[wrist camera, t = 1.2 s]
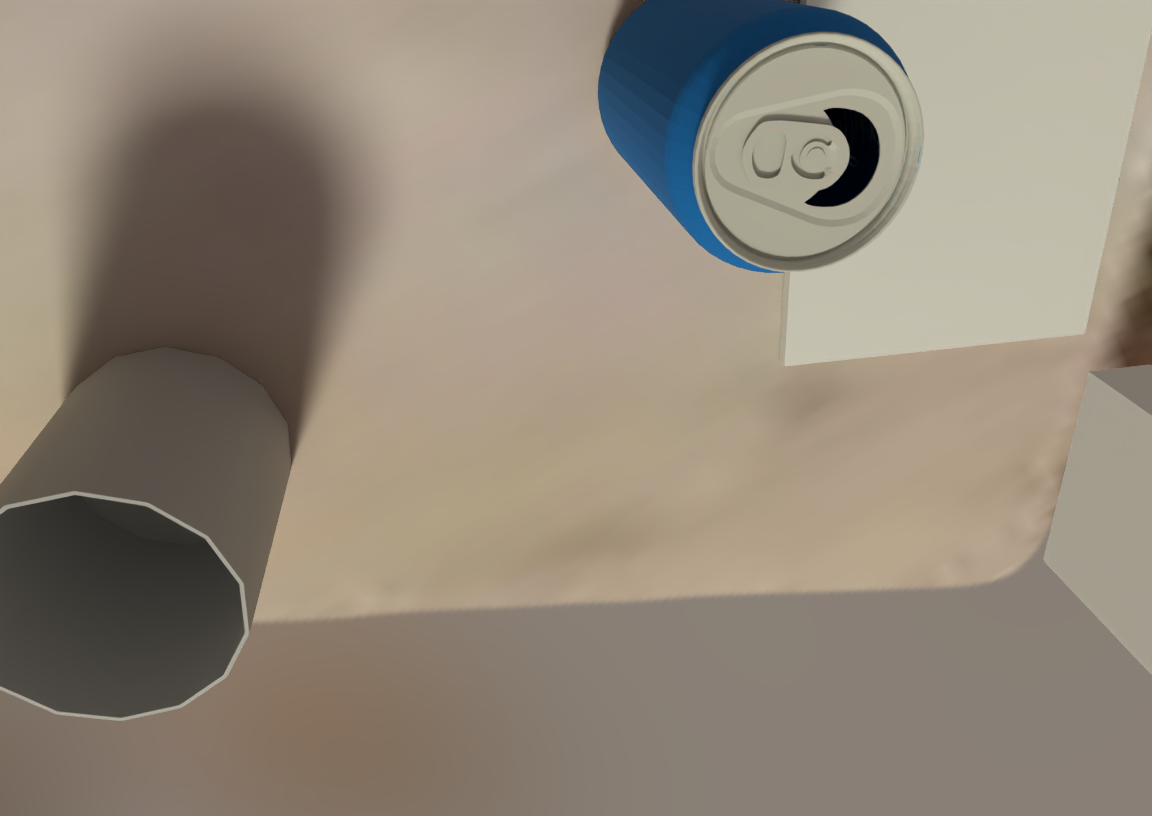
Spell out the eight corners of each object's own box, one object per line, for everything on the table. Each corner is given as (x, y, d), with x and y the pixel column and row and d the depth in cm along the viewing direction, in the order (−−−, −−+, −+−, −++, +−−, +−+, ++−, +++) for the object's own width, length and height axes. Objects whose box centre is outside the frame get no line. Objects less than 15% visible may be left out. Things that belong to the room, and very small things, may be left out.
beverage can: (756, 184, 34) (902, 295, 24) (584, 172, 33) (658, 283, 23) (791, -6, 32) (974, 25, 21) (605, -25, 30) (699, -3, 20)
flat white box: (818, -308, 28) (825, -313, 27) (1215, -320, 29) (1230, -324, 29) (779, 360, 38) (784, 366, 37) (1075, 328, 39) (1084, 333, 39)
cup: (181, 305, 33) (93, 438, 25) (336, 458, 37) (307, 621, 28) (12, 435, 35) (-128, 605, 26) (178, 570, 38) (104, 760, 30)
